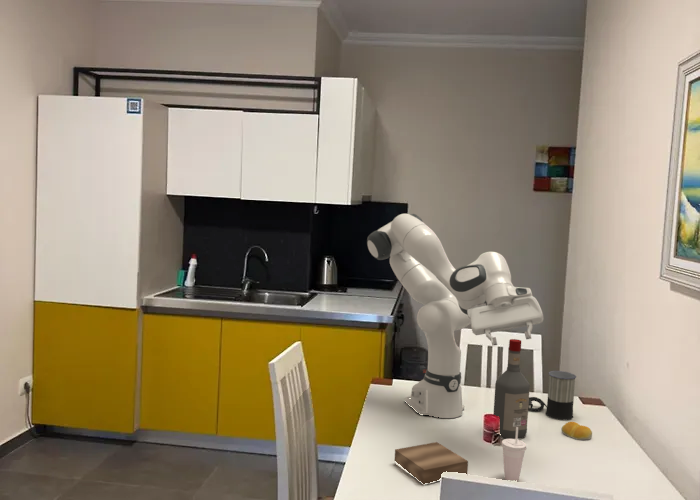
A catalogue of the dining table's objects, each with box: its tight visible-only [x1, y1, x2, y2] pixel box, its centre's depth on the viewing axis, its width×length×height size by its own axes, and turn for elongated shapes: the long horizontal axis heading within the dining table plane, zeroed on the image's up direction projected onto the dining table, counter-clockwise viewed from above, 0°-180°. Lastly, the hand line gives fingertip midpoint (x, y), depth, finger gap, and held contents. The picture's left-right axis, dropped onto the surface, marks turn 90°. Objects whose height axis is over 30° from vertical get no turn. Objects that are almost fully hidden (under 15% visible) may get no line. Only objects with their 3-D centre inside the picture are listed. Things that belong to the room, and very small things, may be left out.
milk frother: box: [528, 370, 577, 421], centre depth 218 cm, size 14×16×15 cm
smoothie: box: [501, 427, 527, 482], centre depth 164 cm, size 6×6×14 cm
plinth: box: [394, 441, 469, 485], centre depth 168 cm, size 14×14×4 cm
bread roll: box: [561, 421, 593, 441], centre depth 198 cm, size 8×9×4 cm
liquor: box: [493, 338, 531, 440], centre depth 196 cm, size 9×9×30 cm
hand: (511, 341), depth 174 cm, fingers open, 8 cm apart
